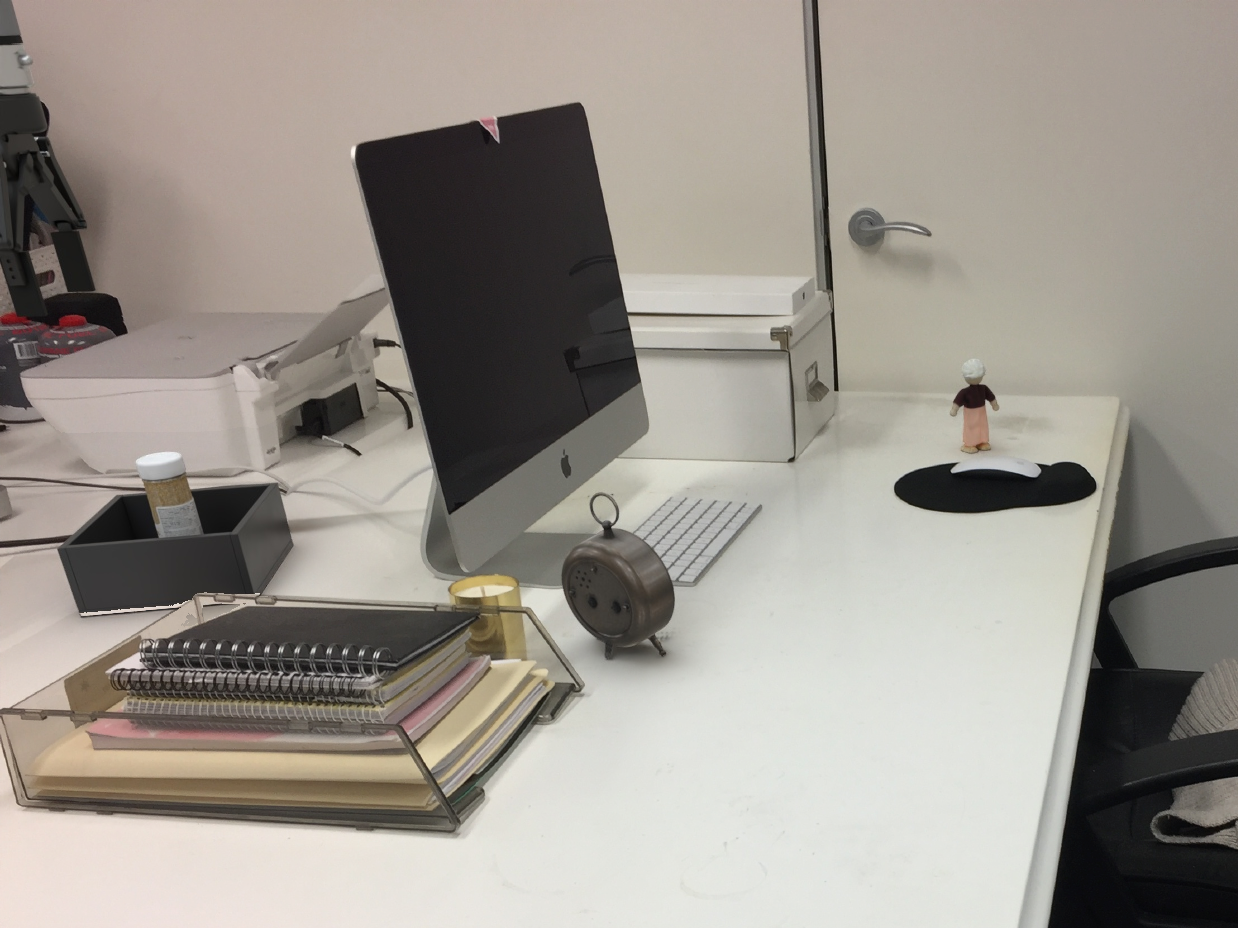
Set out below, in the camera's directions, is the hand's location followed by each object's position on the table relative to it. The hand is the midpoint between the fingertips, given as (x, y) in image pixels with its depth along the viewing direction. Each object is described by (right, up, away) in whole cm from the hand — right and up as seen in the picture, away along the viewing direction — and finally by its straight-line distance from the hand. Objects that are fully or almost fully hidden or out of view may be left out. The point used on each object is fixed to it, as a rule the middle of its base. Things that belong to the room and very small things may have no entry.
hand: (58, 303), depth 144 cm
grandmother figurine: (+103, -9, +40) cm, 111 cm away
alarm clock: (+66, -39, -16) cm, 78 cm away
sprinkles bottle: (+13, -29, +3) cm, 32 cm away
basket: (+13, -30, +4) cm, 33 cm away
